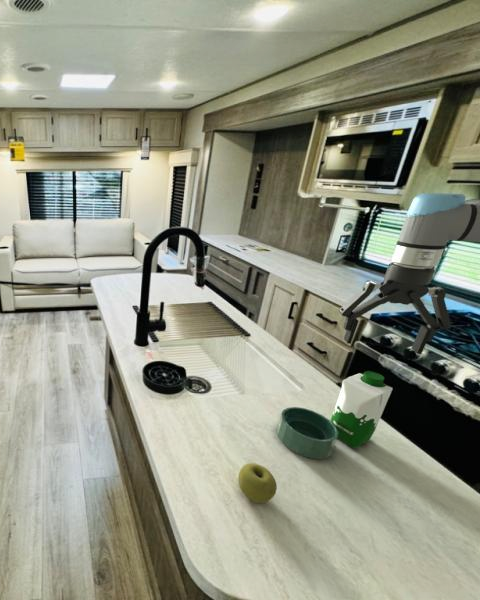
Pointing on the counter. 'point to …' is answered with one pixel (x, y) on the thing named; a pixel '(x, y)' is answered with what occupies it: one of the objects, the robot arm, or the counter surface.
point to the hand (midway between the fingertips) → (380, 346)
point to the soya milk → (360, 407)
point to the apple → (257, 483)
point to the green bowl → (307, 432)
